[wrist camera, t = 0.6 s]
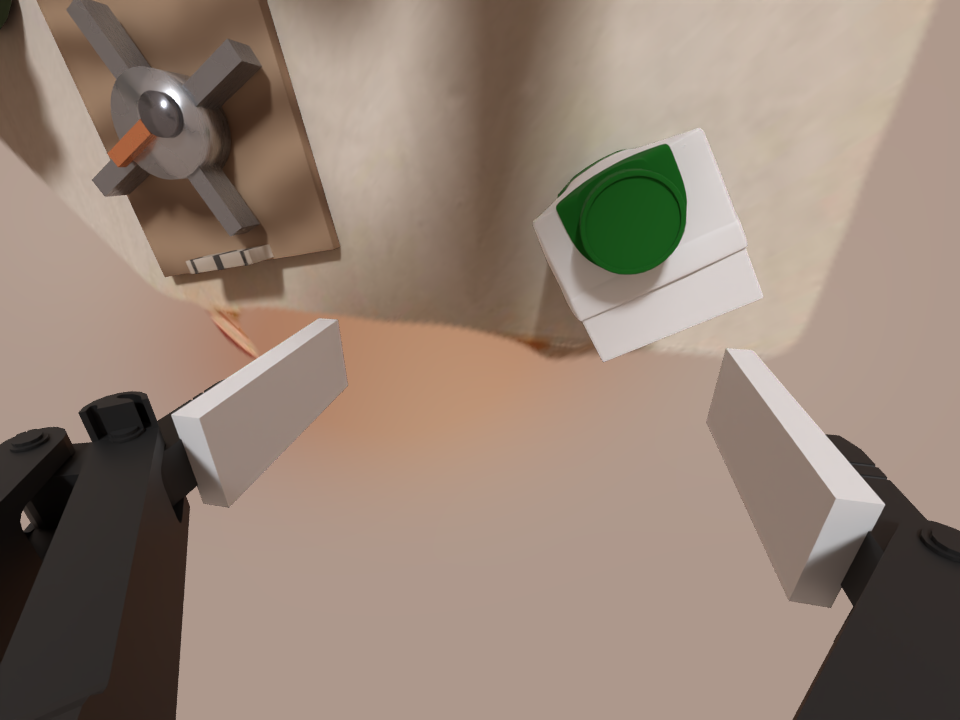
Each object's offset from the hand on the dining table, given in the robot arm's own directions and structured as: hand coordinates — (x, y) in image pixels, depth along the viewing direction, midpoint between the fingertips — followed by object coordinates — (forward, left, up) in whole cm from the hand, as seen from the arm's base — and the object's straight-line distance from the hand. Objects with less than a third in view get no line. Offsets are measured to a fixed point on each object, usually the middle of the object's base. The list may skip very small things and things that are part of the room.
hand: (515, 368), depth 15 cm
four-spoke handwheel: (-14, -30, -24) cm, 41 cm away
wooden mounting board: (-14, -30, -25) cm, 41 cm away
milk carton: (-1, +5, -25) cm, 26 cm away
